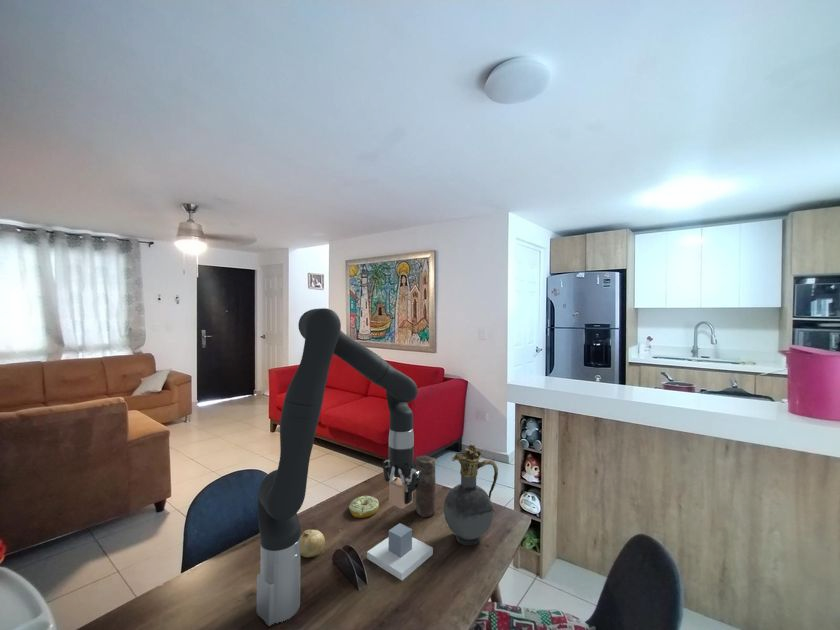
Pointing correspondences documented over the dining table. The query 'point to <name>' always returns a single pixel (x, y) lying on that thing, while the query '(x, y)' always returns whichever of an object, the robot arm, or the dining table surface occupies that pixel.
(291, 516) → the robot arm
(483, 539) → the dining table surface
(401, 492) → the peach block
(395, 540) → the slate block
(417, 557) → the white flat square slab
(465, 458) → the pitcher
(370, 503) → the decorated donut
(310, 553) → the onion
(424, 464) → the brown cylinder
